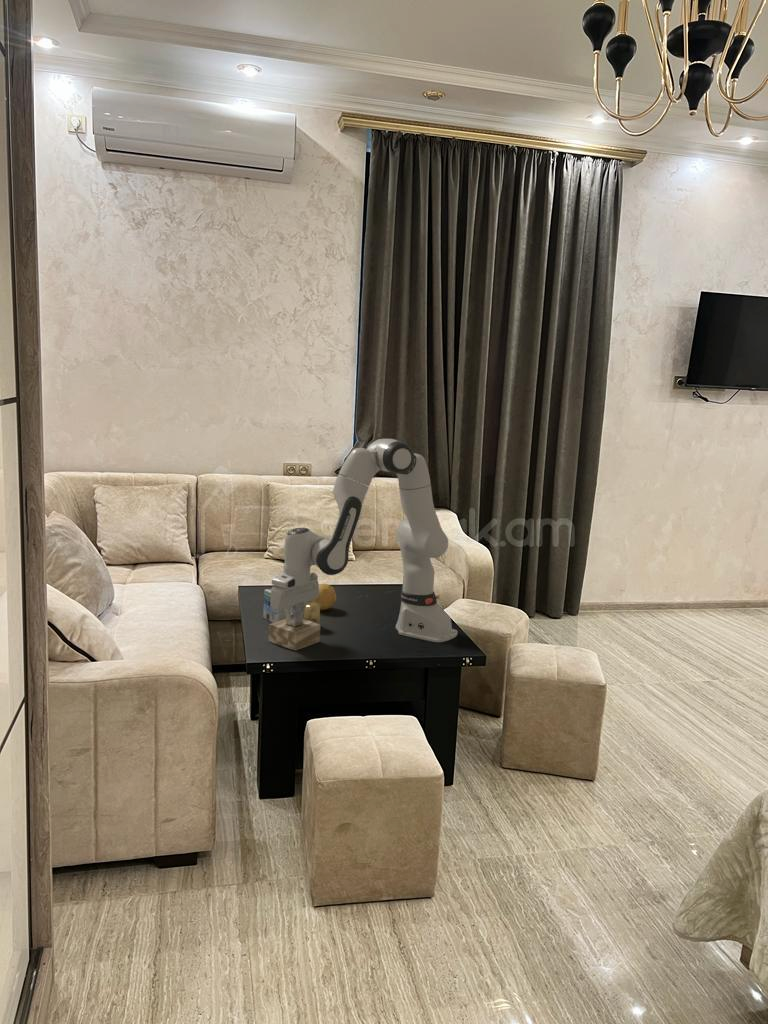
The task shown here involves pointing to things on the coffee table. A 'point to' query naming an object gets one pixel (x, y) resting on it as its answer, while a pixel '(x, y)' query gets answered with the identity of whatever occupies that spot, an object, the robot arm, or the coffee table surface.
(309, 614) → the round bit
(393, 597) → the coffee table surface
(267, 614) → the light bulb box
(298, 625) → the square bit
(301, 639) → the socket block
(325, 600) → the stress ball
